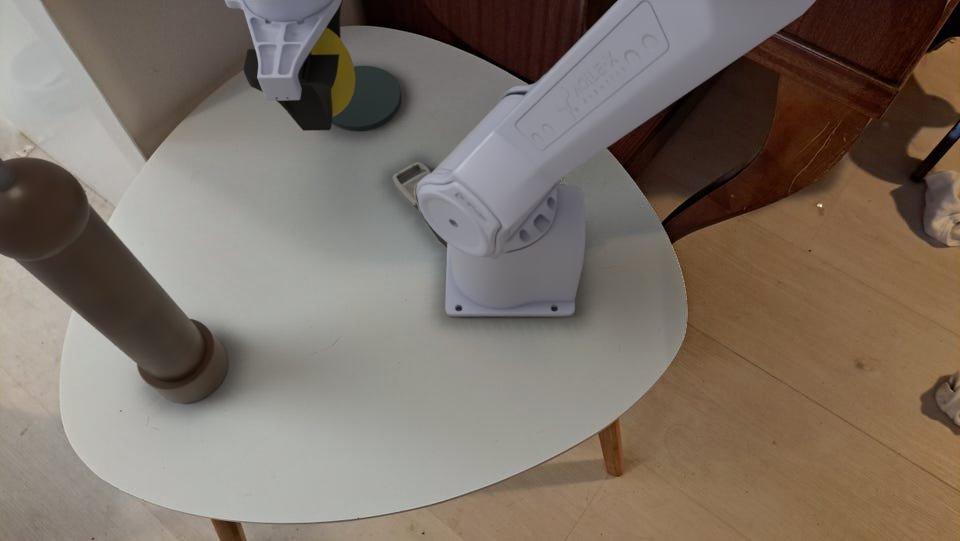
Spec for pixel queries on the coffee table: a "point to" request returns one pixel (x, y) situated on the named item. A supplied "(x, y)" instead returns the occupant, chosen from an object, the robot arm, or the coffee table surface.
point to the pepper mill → (103, 279)
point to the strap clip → (414, 190)
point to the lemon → (345, 73)
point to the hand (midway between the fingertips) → (321, 92)
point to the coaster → (370, 100)
